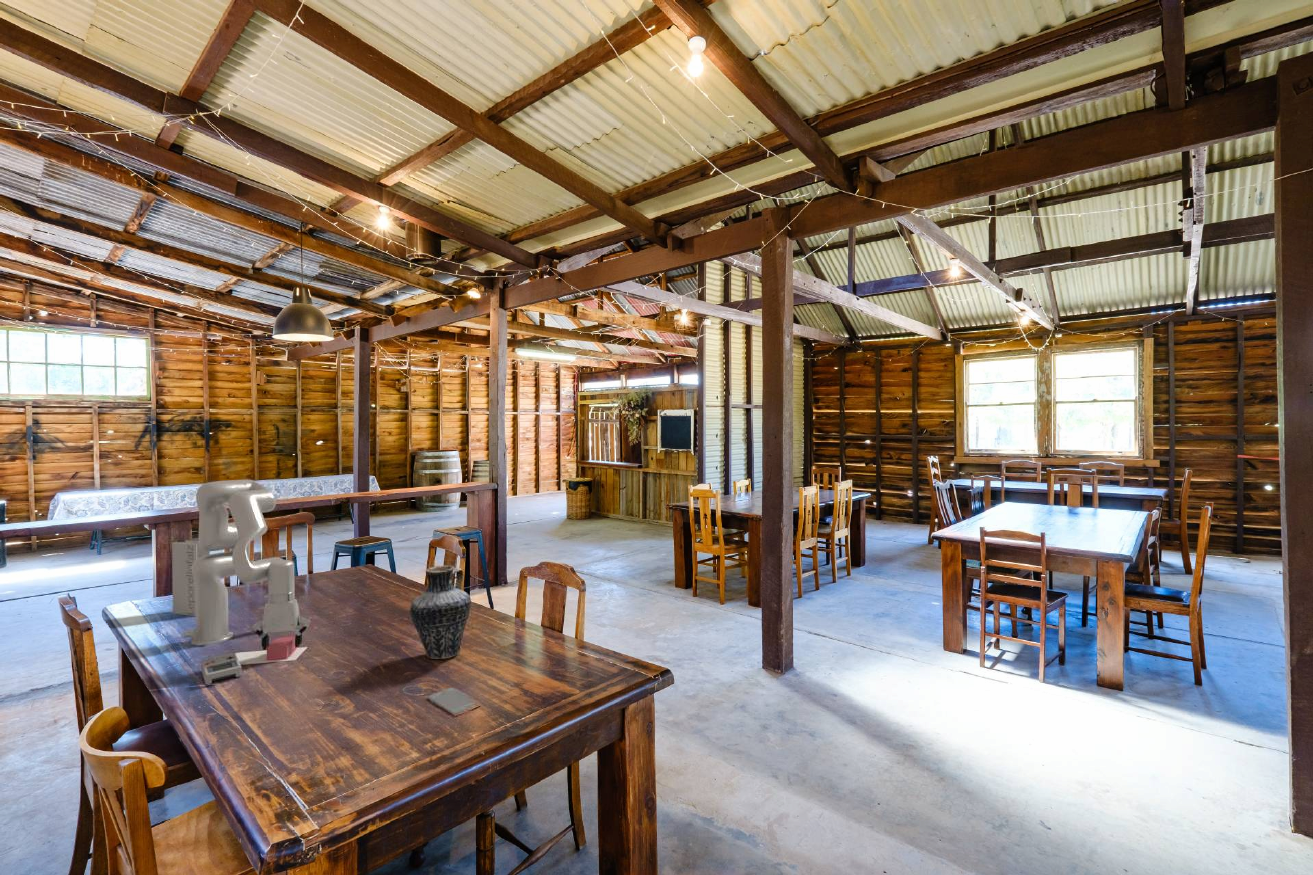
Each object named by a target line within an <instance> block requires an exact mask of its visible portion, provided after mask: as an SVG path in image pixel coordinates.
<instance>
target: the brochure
mask: <svg viewBox="0 0 1313 875" xmlns="http://www.w3.org/2000/svg"><path fill="white" fill-rule="evenodd" d="M210 554H211V551H203V550H201V549H200V547H199V540H198V541H197V540H185V542H171V556H172V558H171V559H172V560H171V561H172V563H171V564H172V568H171V569H172V570H171V571H172V614H176V615H183V616H184V615H185V616H193V617H196V594H195V583H194V578H193V574H192V564H193V562H194V561H195V560H196V559H198V558H200V557H202V556H205V555H210Z"/></svg>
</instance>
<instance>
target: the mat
mask: <svg viewBox="0 0 1313 875" xmlns="http://www.w3.org/2000/svg"><path fill="white" fill-rule="evenodd" d="M307 648H308V646H305V647H297V649H296V650H295V651H294V652H293V653H292V654H291V655H290V656H289V658H288V659H281V660H270V661H267V649H266V650H256V651H243V652H241V651H240V652H236V653H235V655H236V657H237V659H238V661H239V663H240V665H241V666H242V665H253V664H255V665H256V664H265V663H276V662H287V661H296V660H297V659H298V658H299V657H301V655H302V654H303V653H304V652H305V650H307Z"/></svg>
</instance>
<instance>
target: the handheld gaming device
mask: <svg viewBox="0 0 1313 875" xmlns="http://www.w3.org/2000/svg"><path fill="white" fill-rule="evenodd" d="M235 654H236V653H235V652H231V653H227V654H223V655H218V656H215V657H210V658H207V659H206V660H204V661H203V662H202V663H201V667H200V668H201V673H202V677H203V679H204V683H205V685H211V684H213V681H217V680H220V679H226V678H230V677H233V676H235V678H239V677H242V673H243V672H242V671H243V670H242V665H240V663H239V661H238V659H237V657H236V655H235Z"/></svg>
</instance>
